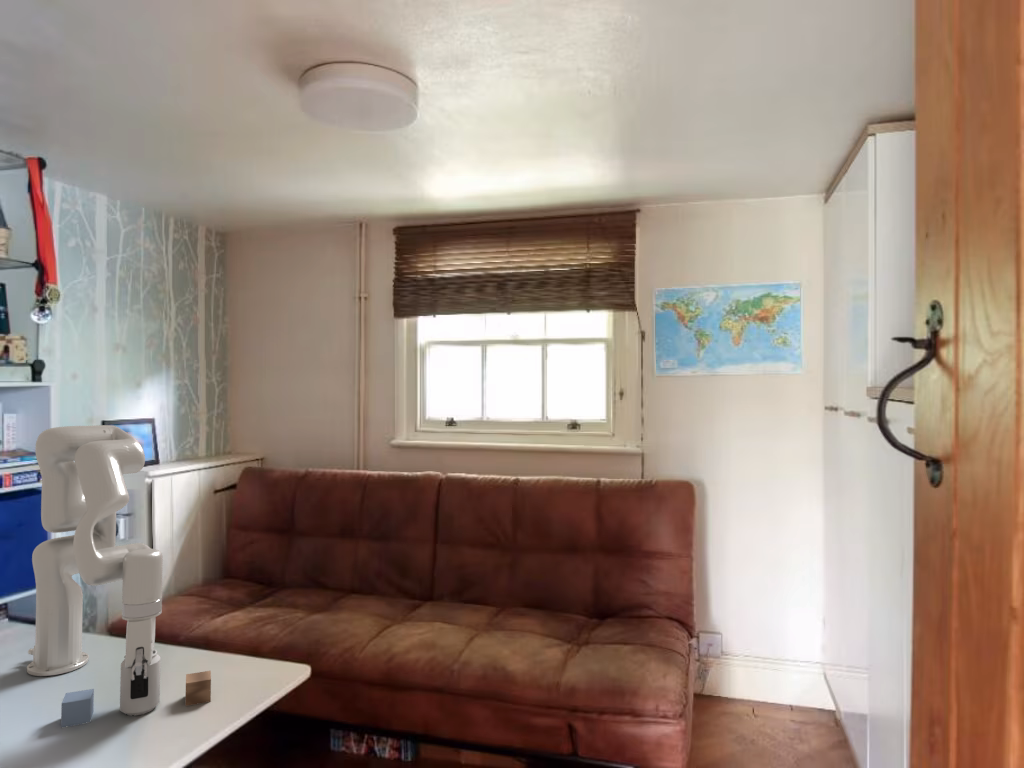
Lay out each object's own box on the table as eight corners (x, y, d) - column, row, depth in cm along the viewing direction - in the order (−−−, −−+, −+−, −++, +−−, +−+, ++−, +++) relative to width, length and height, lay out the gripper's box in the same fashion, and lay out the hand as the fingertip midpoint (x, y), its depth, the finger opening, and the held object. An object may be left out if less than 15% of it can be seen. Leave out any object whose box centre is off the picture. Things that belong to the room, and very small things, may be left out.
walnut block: (185, 706, 143) (185, 683, 143) (185, 696, 148) (186, 674, 148) (210, 702, 145) (211, 679, 145) (210, 692, 150) (210, 670, 150)
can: (141, 719, 137) (143, 661, 137) (111, 715, 139) (112, 658, 139) (167, 702, 145) (168, 648, 145) (138, 699, 146) (139, 644, 146)
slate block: (61, 728, 133) (61, 703, 133) (65, 716, 138) (65, 693, 138) (90, 723, 136) (90, 698, 136) (93, 712, 140) (93, 688, 140)
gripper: (126, 599, 148) (124, 675, 148) (117, 623, 132) (116, 709, 132) (163, 594, 151) (162, 669, 151) (159, 618, 136) (158, 701, 135)
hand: (141, 688), depth 142 cm, fingers open, 9 cm apart
